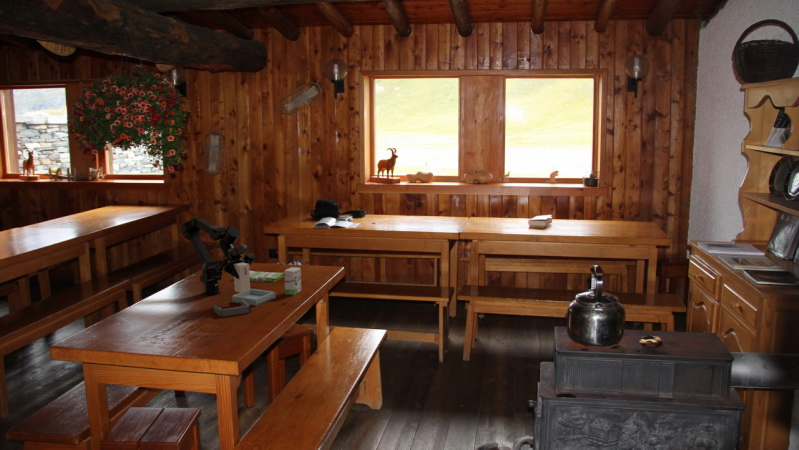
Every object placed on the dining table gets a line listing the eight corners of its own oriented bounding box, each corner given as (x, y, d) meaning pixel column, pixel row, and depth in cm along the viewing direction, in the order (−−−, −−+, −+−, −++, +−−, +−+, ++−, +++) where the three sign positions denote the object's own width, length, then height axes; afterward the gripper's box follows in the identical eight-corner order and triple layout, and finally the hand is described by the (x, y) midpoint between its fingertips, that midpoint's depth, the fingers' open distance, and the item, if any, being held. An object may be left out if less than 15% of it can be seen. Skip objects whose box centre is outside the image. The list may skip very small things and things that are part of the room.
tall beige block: (234, 291, 303) (233, 264, 301) (243, 288, 307) (242, 262, 304) (242, 293, 299) (241, 266, 297) (251, 291, 303) (250, 264, 300)
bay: (214, 310, 293) (213, 304, 292) (243, 306, 299) (243, 299, 299) (220, 317, 284) (220, 310, 283) (251, 312, 290) (251, 305, 290)
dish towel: (245, 273, 361) (245, 267, 361) (285, 275, 357) (285, 269, 356) (232, 281, 345) (231, 275, 344) (274, 283, 341) (273, 277, 340)
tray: (232, 302, 306) (231, 295, 306) (252, 294, 318) (251, 288, 318) (256, 306, 300) (255, 299, 299) (275, 298, 312) (275, 292, 311)
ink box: (294, 295, 317) (293, 271, 315) (284, 294, 318) (283, 270, 316) (301, 290, 325) (301, 267, 323) (292, 290, 326) (291, 266, 324)
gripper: (217, 242, 295) (233, 270, 289) (252, 236, 309) (267, 263, 303) (208, 257, 301) (223, 285, 296) (242, 250, 315) (257, 277, 310)
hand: (243, 277), depth 301 cm, fingers closed on tall beige block, 5 cm apart
